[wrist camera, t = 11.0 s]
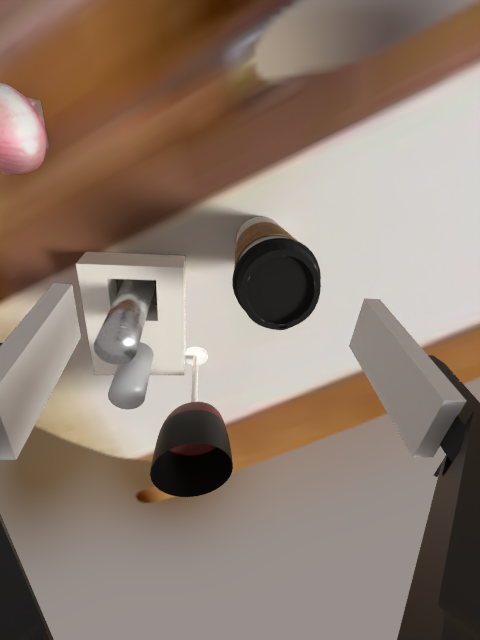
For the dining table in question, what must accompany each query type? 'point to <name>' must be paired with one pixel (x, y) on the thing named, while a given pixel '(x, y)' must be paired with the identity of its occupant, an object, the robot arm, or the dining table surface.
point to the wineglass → (192, 444)
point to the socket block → (160, 326)
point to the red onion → (20, 132)
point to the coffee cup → (274, 275)
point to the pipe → (124, 322)
